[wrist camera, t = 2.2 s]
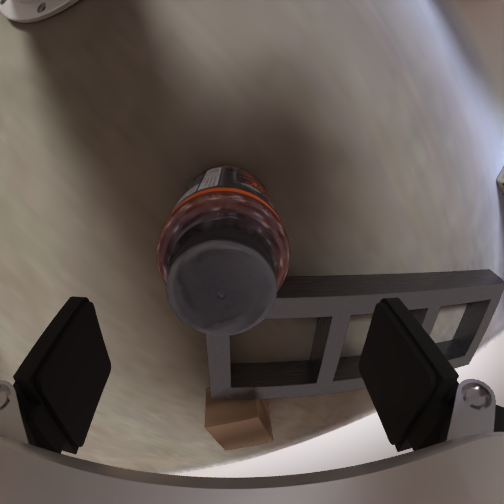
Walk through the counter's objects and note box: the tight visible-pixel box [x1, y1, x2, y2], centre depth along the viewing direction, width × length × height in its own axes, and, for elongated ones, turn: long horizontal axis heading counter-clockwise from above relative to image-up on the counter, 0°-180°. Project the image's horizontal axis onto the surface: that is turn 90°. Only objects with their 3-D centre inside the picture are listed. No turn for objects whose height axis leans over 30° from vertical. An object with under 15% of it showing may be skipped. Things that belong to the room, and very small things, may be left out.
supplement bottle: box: [157, 166, 290, 336], centre depth 16 cm, size 6×6×11 cm
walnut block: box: [205, 388, 273, 450], centre depth 27 cm, size 5×5×5 cm
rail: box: [206, 269, 504, 400], centre depth 25 cm, size 29×11×3 cm, turn 88°
